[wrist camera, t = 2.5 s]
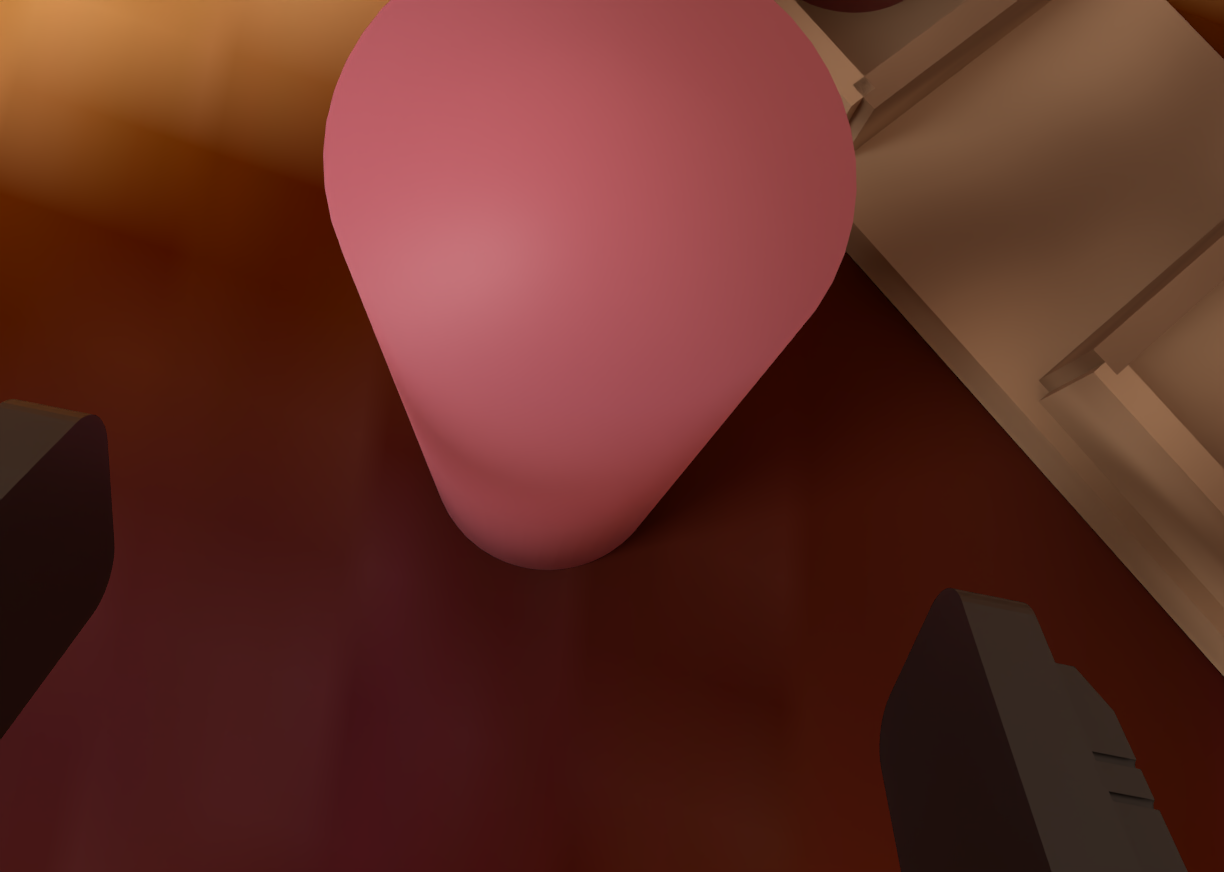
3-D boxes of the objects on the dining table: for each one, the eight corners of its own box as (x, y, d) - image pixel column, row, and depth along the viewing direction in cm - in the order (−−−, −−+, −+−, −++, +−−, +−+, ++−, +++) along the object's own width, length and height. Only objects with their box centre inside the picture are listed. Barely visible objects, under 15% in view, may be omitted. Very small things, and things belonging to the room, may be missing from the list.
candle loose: (386, 437, 20) (212, 106, 9) (565, 303, 21) (629, -160, 9) (530, 618, 20) (555, 529, 8) (708, 473, 21) (963, 204, 9)
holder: (529, -106, 23) (530, -219, 20) (827, -296, 25) (869, -424, 22) (1311, 775, 20) (1446, 792, 17) (1581, 486, 22) (1742, 457, 19)
